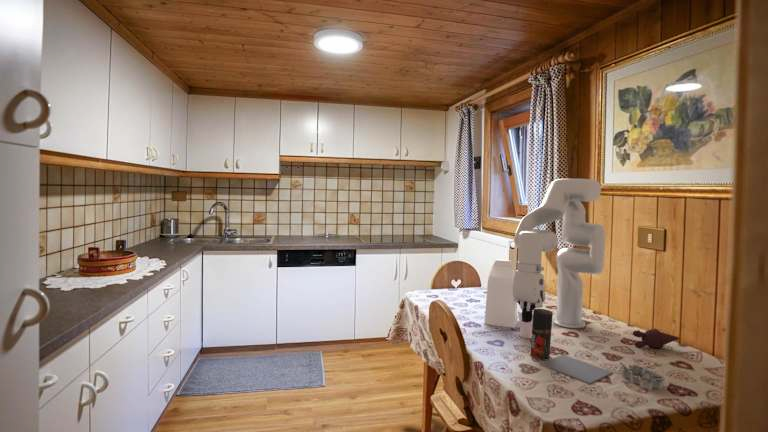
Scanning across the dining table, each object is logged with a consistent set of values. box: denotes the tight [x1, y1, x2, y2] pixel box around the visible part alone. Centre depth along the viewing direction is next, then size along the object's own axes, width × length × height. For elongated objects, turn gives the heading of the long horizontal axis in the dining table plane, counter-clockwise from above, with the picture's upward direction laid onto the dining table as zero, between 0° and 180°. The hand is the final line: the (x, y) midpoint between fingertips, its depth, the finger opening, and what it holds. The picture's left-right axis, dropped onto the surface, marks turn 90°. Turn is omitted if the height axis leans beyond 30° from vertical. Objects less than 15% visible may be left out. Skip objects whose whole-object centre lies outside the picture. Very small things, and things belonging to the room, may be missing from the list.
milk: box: [483, 259, 518, 329], centre depth 171 cm, size 12×12×26 cm
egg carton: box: [619, 361, 667, 391], centre depth 119 cm, size 11×8×4 cm
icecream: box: [632, 328, 680, 349], centre depth 146 cm, size 7×7×15 cm
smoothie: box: [517, 308, 533, 339], centre depth 154 cm, size 6×6×14 cm
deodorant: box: [529, 308, 554, 361], centre depth 135 cm, size 6×6×15 cm
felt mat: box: [539, 354, 614, 385], centre depth 126 cm, size 13×16×1 cm
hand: (526, 321), depth 139 cm, fingers closed
